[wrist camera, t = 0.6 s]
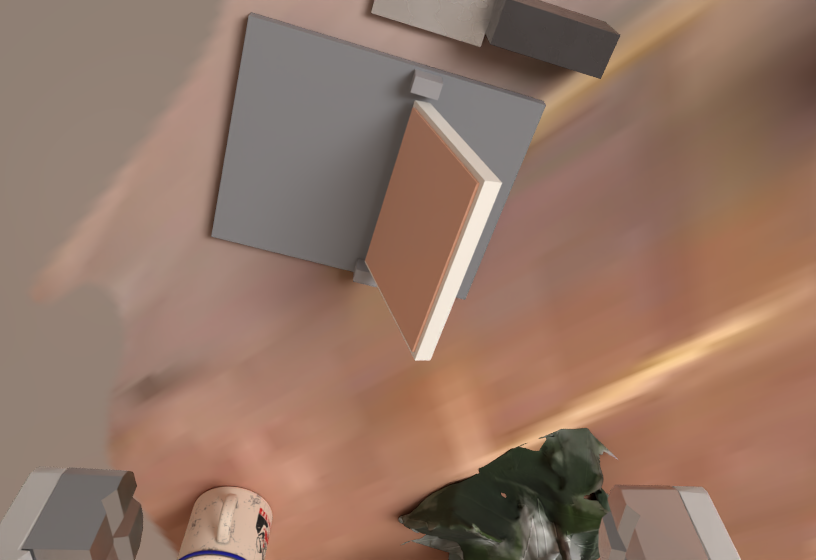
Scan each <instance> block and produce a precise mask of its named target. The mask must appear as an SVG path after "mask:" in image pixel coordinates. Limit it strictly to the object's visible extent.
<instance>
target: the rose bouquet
mask: <svg viewBox="0 0 816 560" xmlns="http://www.w3.org/2000/svg"><path fill="white" fill-rule="evenodd" d="M544 437H546V441H545V443H544V444H543V445H542V447H541V448H540V451H532V450H529V449H526V448H522V447H520V446H518V447H516V448H514V449H511V450H509V451H508V452H507V453H505V454H504V455H502V456H501V457H499V458H497V459H496V460H494V461H493V462H491V463H489V464H488V465H486V466H484V467H482V468H479V472H480V474H476V475H474V476H473V477H471V478H469V479H467V480H464V481H462V482H460V483H456V484H452V485H449V486H447V487H445V488H443V489H441V490H439V491H437V492H435V493H433V494H431V495H430V496H429V497H427V498H426V499H425V500H424V501H423V502H421V503H420V505H419V506H418V507H417V508H416V509H415V510H413V511H412V512H411V513H410V514H407V515H404V516H401V517H399V522H400V523H402V524H404V526H405V527H408V528H409V529H411V530H413V531H414V532H417V533H418V532H420V533H423V534H426V535H425V536H424V537H423V538H421V539H417V540H412V542H416V543H419V544H422V545H426V546H429V547H432V548H435V549H439V550H442V551H445V552H449V560H596V559H598V558H600V554H599V547H598V543H599V528H600V524H601V520H602V517H603V516H605V515H606V514H607V513H609V512H610V511H611V509H610V506H609V503H608V497H609V495H608V494H606V493H605V491H604V490H603V489H602V488H601V487H602V483H603V474H602V471H601V468H600V460H599V459H600V458H599V454H601V455H602V454H603V451H605V452H606V453H608V454H609V455H611V456H614V455H613V454H612V453H611V452H610V451H609V450H608V449H607V448H606V447H605V446H604V445H603V444H602V443H601V442H600V441H598V440H597V439H596V438H595V437H594V436H593V435H592V433H591V432H590V431H589V429H587V428H581V429H560V430H558V431H556V432H553V433H551V434H549V435H547V436H544ZM544 437H541V438H544ZM539 439H540V438H539ZM525 444H526V443H525ZM523 445H524V444H523ZM521 446H522V445H521ZM614 458H616V457H615V456H614ZM616 459H617V458H616ZM501 492H502V493H505V494H506V496H507V497H506V498H504V497H503V496H502V495H501ZM593 492H594V493H595V496H596V498H597V501H591V500H588V499H584V496H585V495H590V493H591V494H592V493H593ZM408 542H410V541H408ZM408 542H405V543H408ZM405 543H404V544H405ZM402 545H403V544H402ZM400 546H401V545H400Z"/></svg>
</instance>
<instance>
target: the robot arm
mask: <svg viewBox="0 0 816 560" xmlns="http://www.w3.org/2000/svg"><path fill="white" fill-rule="evenodd" d="M136 487H137V485H136V481H135V477H134V473H133V472H131V471H122V470H103V469H86V468H61V467H38V468H36V469H35V470H34V471H33V472H31V473H30V474H29V476H28V478H27V480H26V481H25V483H24V484H23V486H22V488H21V489H20V491H19V493H18V494H17V496H16V498H15V499H14V501H13V503H12V504H11V506H10V508H9V509H8V511H7V513H6V514H5V516H4V518H3V519H2V521H1V522H0V560H135V558H136V555H137V552H138V549H139V546H140V542H141V536H142V531H143V513H142V508H141V504H140V503H139V502H137V501H136V500H135V499H134V498H133V494H134V492H135V489H136ZM608 503H609V506H610V509H611V511H610V512H609V513H607V514H606V515H605V516H603V517H602V520H601V524H600V528H599V543H598V547H599V554H600V560H741V559H740V557H739V555H738V553H737V551H736V549H735V547H734V545H733V543H732V540H731V538H730V536H729V534H728V532H727V530H726V528H725V526H724V524H723V522H722V520H721V518H720V516H719V514H718V512H717V510H716V508H715V506H714V504H713V502H712V500H711V498H710V496H709V494H708V492H707V491H706V490H705V489H704V488H703V487H688V486H672V487H671V486H658V485H614V486H613V488H612V489H611V490H610V494H609V497H608Z"/></svg>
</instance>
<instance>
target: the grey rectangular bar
mask: <svg viewBox="0 0 816 560" xmlns="http://www.w3.org/2000/svg"><path fill="white" fill-rule="evenodd" d="M371 13H373V14H376V15H379V16H383V17H386V18H389V19H392V20H395V21H399V22H402V23H405V24H408V25H411V26H415V27H418V28H421V29H424V30H427V31H431V32H434V33H437V34H440V35H443V36H447V37H450V38H453V39H456V40H459V41H463V42H466V43H469V44H472V45H475V46H479V47H481V44H482V41H483V38H484V35H485V34H486V36H487V38H488V40H489V43H490V44H491V45H494V46H497V47H500V48H504V49H507V50H510V51H513V52H516V53H520V54H523V55H526V56H529V57H532V58H535V59H539V60H542V61H545V62H548V63H551V64H555V65H558V66H561V67H564V68H567V69H571V70H574V71H577V72H580V73H583V74H586V75H590V76H593V77H596V78H599V79H601V77H602V75H603V73H604V70H605V68H606V66H607V64H608V62H609V59H610V57H611V55H612V53H613V50H614V48H615V46H616V44H617V42H618V39H619V37H620V34H618V33H617V32H616V31H615V30H614V29H613V28H612V27H610V26H609V25H608V24H607V23H606V22H604V21H601V20H598V19H595V18H592V17H589V16H586V15H583V14H580V13H577V12H573V11H570V10H567V9H564V8H561V7H558V6H555V5H552V4H549V3H546V2H543V1H540V0H374V3H373V7H372V11H371Z"/></svg>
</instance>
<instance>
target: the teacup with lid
mask: <svg viewBox="0 0 816 560" xmlns="http://www.w3.org/2000/svg"><path fill="white" fill-rule="evenodd" d="M271 524H272V511H271V508H270V506H269V505H268V503H267V502H266V501H265V500H264V499H263V498H262V497H261V496H259V495H258V494H256V493H254V492H252V491H250V490H247V489H244V488H240V487H231V486H225V487H218V488H214V489H211V490H209V491H207V492H205V493H203V494H202V495H201V496H200V497H199V498H198V499H197V500H196V502H195V504H194V507H193V510H192V513H191V516H190V520H189V523H188V526H187V529H186V532H185V535H184V539H183V542H182V545H181V548H180V551H179V555H178V558H177V560H265V555H266V550H267V544H268V539H269V534H270V529H271Z"/></svg>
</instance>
